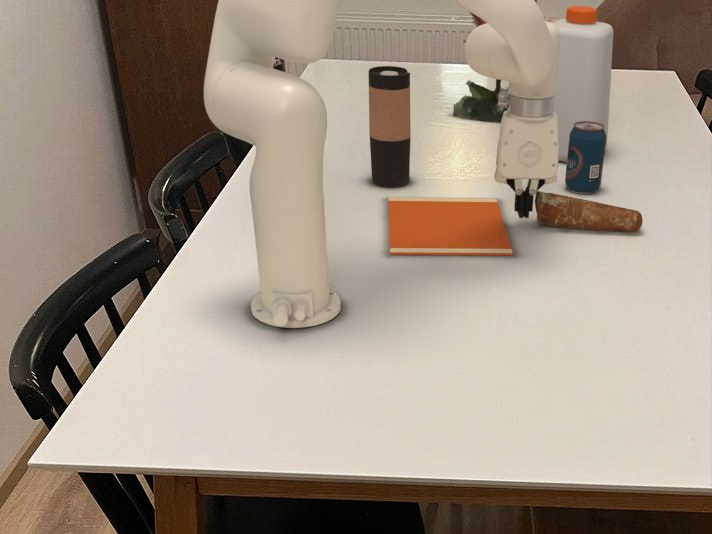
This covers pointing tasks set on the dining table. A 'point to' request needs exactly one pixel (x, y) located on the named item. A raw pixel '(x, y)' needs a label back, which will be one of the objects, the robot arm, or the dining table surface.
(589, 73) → the plastic bottle
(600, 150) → the soda can
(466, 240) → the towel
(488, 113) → the rose bouquet
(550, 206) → the bread
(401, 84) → the travel mug
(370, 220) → the dining table surface
